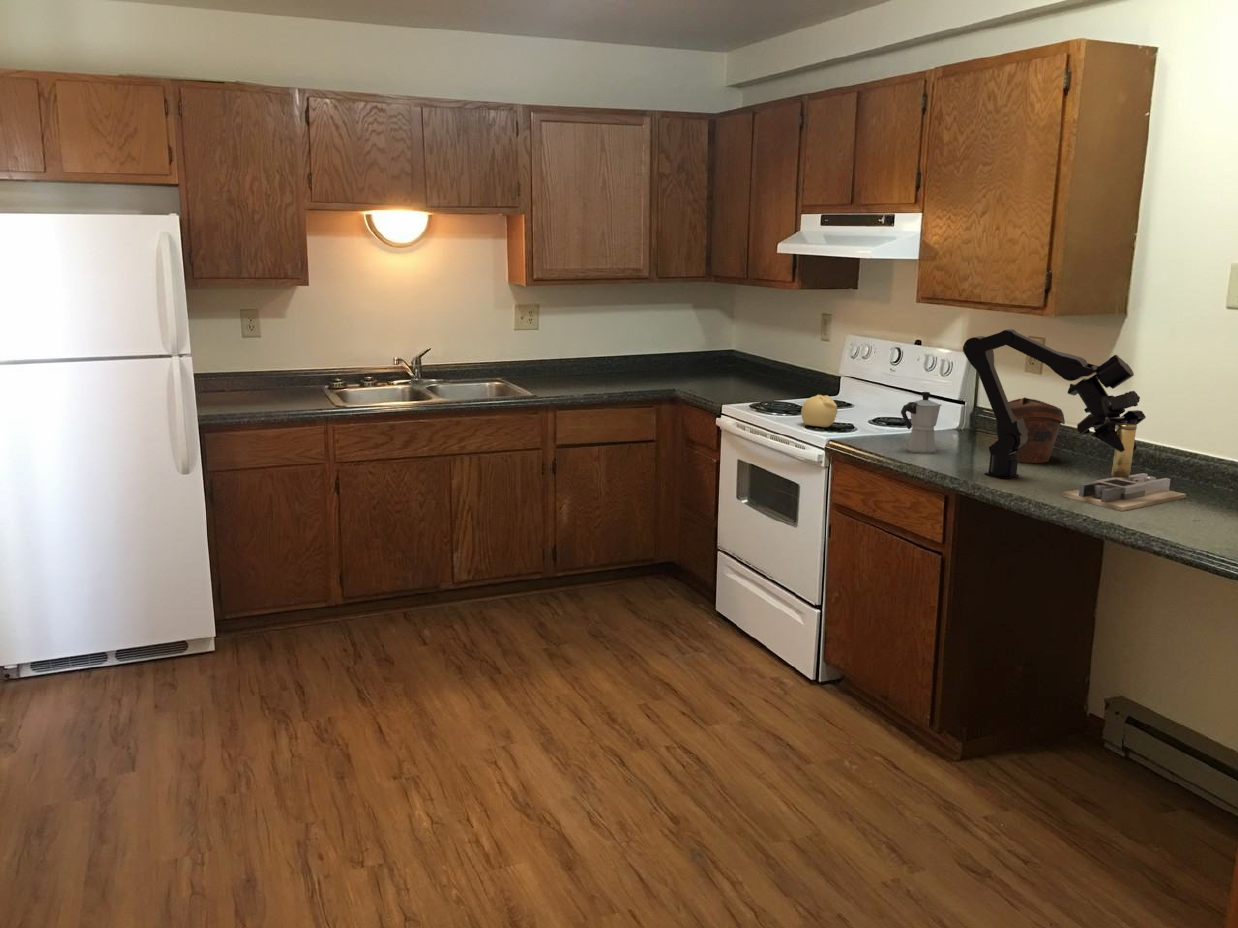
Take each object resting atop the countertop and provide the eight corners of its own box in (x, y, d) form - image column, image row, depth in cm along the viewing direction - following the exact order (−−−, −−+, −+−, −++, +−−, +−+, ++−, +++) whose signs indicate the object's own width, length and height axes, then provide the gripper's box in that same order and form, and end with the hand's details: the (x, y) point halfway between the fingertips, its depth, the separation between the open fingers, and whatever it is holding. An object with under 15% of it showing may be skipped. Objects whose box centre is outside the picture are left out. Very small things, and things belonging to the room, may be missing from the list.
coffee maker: (928, 446, 310) (933, 388, 306) (947, 452, 302) (953, 393, 298) (888, 449, 304) (893, 390, 300) (907, 455, 297) (912, 395, 293)
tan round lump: (840, 429, 336) (842, 397, 334) (804, 429, 335) (806, 397, 333) (831, 423, 347) (833, 392, 345) (797, 422, 347) (799, 391, 344)
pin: (1107, 475, 250) (1114, 424, 247) (1117, 473, 252) (1124, 422, 249) (1123, 478, 247) (1130, 426, 244) (1133, 477, 249) (1140, 425, 246)
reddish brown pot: (1018, 448, 309) (1024, 391, 305) (1074, 462, 292) (1082, 401, 287) (977, 454, 301) (983, 395, 296) (1032, 468, 283) (1039, 406, 279)
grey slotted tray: (1076, 495, 249) (1077, 483, 248) (1139, 483, 262) (1141, 472, 262) (1107, 503, 241) (1109, 491, 241) (1171, 490, 255) (1172, 479, 255)
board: (1061, 496, 252) (1062, 492, 252) (1125, 484, 266) (1126, 480, 265) (1121, 511, 238) (1122, 507, 238) (1185, 497, 252) (1186, 494, 252)
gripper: (1093, 381, 244) (1127, 434, 237) (1144, 378, 252) (1178, 429, 245) (1062, 408, 252) (1094, 460, 245) (1112, 404, 260) (1144, 454, 253)
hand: (1129, 450), depth 247 cm, fingers closed on pin, 4 cm apart
